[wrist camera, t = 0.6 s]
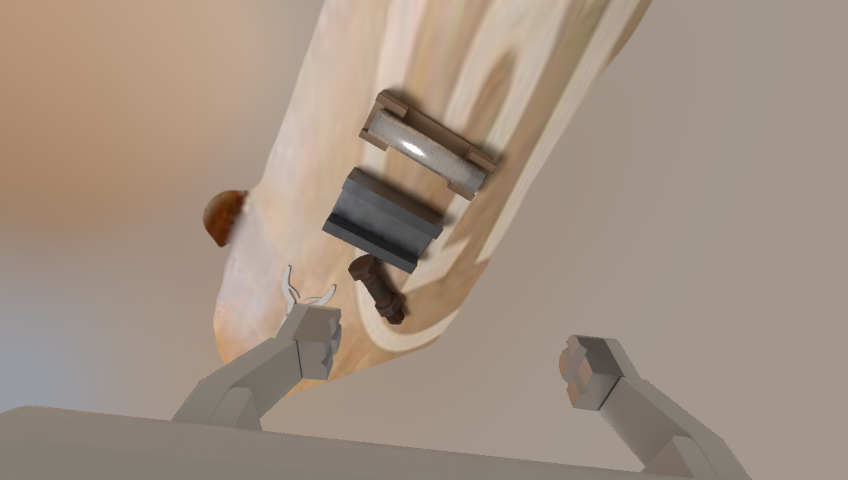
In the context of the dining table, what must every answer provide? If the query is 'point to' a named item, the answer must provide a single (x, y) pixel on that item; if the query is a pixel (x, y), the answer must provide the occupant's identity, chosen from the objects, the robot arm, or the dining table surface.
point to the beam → (428, 135)
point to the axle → (426, 151)
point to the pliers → (291, 299)
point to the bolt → (377, 288)
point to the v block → (382, 221)
